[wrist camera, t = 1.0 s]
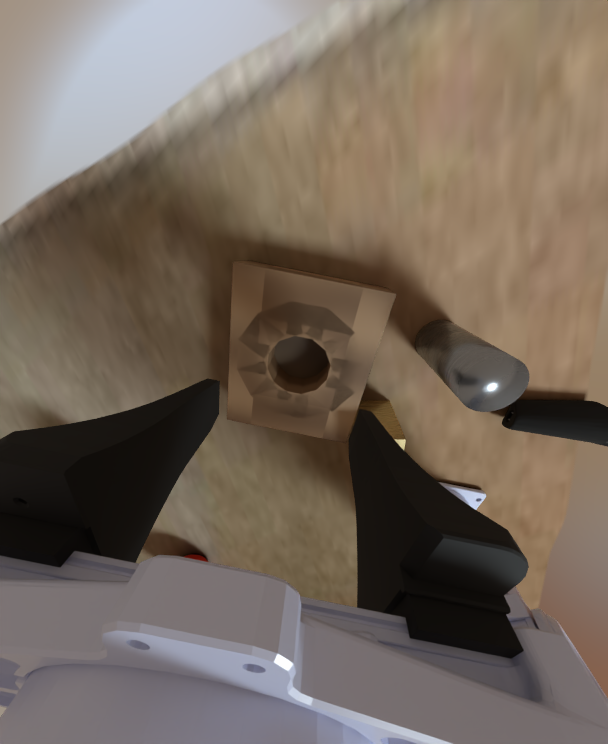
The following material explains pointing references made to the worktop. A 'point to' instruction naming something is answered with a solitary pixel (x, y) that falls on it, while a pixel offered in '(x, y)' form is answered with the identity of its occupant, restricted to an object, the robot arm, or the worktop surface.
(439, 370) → the round peg
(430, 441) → the worktop surface
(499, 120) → the worktop surface
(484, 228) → the worktop surface
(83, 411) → the worktop surface
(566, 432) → the electric trimmer
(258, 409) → the socket block
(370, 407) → the square bar
